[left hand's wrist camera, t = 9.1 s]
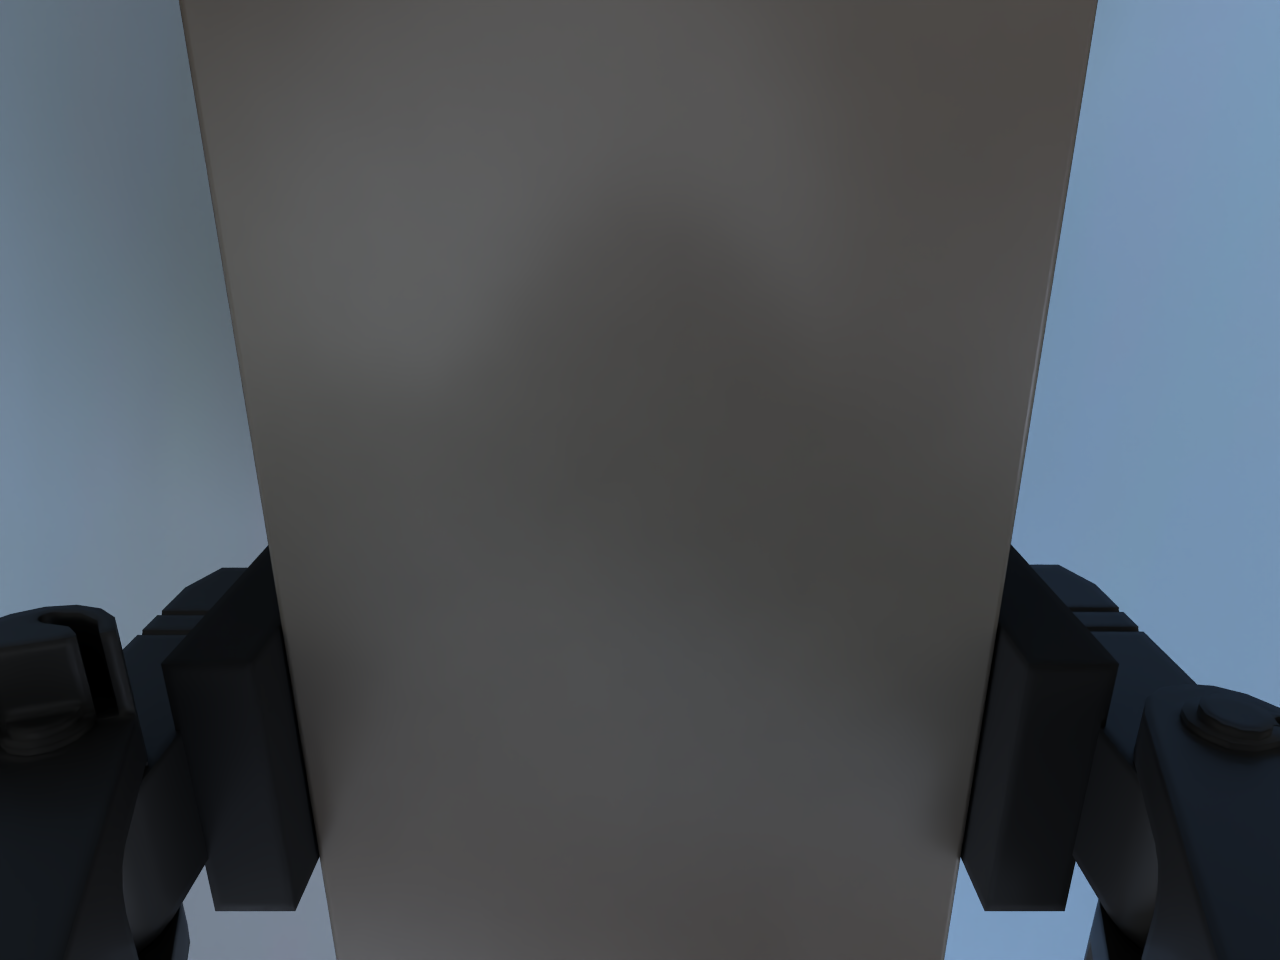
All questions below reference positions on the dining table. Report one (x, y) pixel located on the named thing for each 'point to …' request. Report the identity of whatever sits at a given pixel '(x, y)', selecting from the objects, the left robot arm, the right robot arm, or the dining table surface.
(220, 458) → the dining table surface
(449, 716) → the grey rectangular box
